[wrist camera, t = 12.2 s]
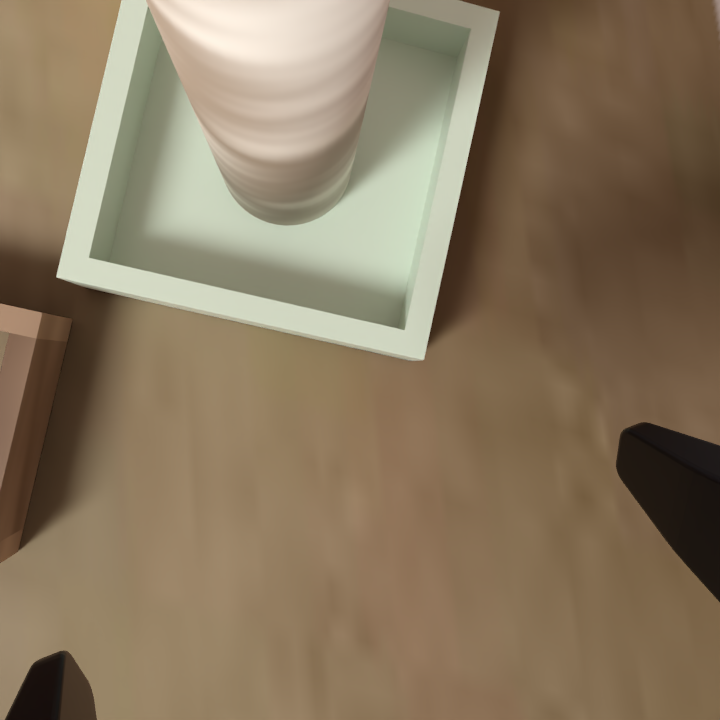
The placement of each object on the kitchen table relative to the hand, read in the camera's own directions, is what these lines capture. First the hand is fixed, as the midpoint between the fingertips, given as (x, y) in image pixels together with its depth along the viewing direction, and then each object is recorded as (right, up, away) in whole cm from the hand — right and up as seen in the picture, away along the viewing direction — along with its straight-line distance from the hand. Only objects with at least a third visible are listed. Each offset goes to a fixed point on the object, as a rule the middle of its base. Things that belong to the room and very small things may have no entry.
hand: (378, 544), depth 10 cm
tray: (-3, +10, +13) cm, 16 cm away
